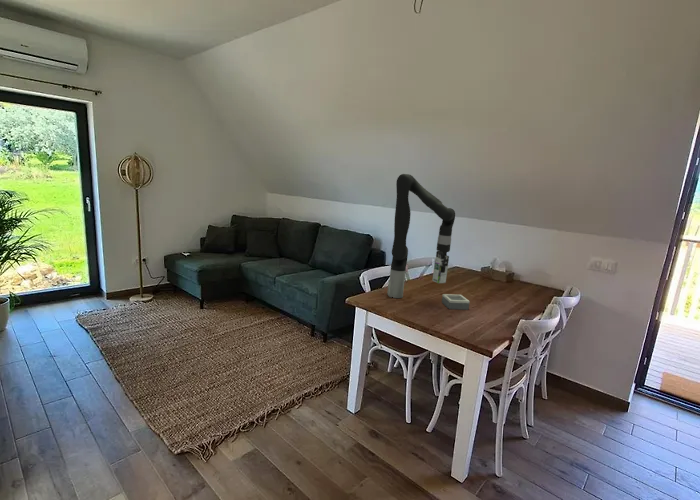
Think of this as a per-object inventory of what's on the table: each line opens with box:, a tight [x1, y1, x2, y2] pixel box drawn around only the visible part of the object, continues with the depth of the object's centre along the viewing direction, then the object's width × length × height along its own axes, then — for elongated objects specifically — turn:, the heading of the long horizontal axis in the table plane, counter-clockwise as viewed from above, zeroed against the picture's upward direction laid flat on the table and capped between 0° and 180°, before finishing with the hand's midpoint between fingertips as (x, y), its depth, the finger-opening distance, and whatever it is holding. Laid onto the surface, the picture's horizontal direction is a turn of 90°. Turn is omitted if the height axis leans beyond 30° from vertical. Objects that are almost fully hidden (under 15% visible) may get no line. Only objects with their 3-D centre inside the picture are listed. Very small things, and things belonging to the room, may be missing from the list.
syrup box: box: [432, 256, 450, 284], centre depth 216 cm, size 6×6×14 cm
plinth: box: [441, 293, 470, 311], centre depth 223 cm, size 12×12×5 cm
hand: (440, 270), depth 216 cm, fingers closed on syrup box, 7 cm apart
